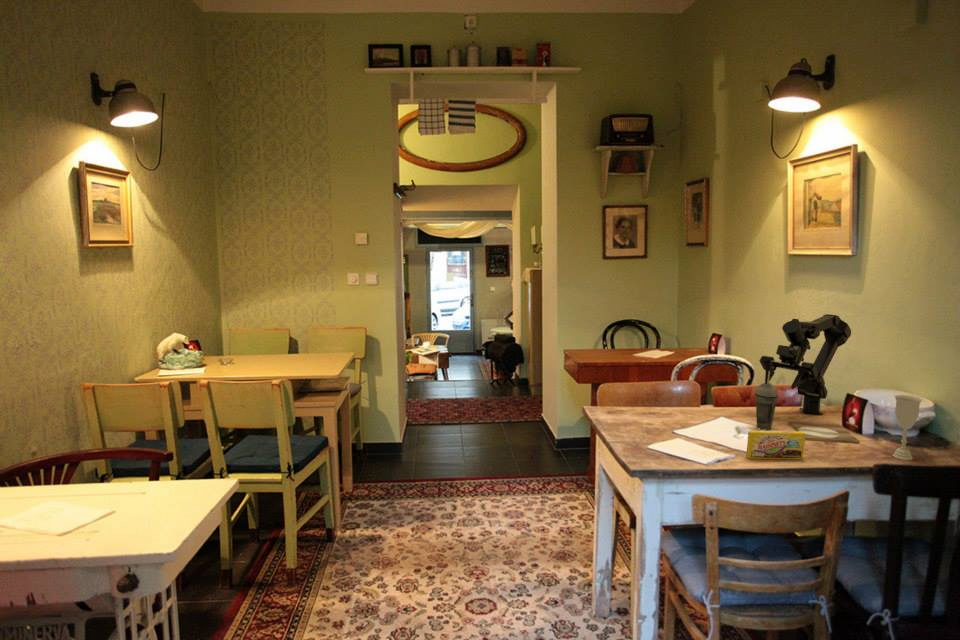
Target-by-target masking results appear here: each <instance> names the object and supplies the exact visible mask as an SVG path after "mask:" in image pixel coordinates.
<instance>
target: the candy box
mask: <svg viewBox="0 0 960 640" xmlns="http://www.w3.org/2000/svg"><path fill="white" fill-rule="evenodd" d="M747 433H748V434H747V445H746V453H745V457H746V458H747V459H748V460H750V459H751V460H752V459H753V460H804V453H805V442H806V440H805V433H804V432H803V431H796V430H793V431H791V430H790V431H789V430H788V431H787V430H748V432H747Z"/></svg>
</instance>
